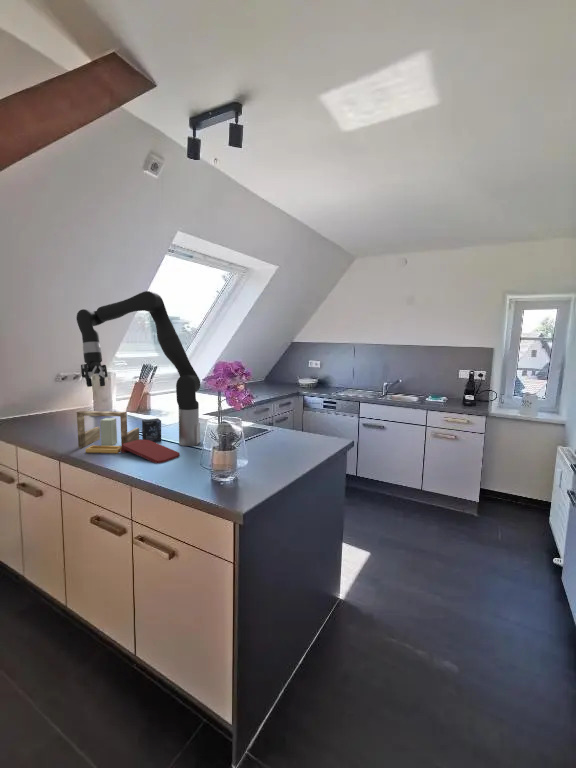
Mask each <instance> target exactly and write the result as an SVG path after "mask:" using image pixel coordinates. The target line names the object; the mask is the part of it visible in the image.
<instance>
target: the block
mask: <svg viewBox="0 0 576 768" xmlns="http://www.w3.org/2000/svg"><path fill="white" fill-rule="evenodd" d="M99 423H100V426H99V427H100V444H101V445H100V446H116V444H118V434H117V433H118V431H117V429H118V427H117V418H115V417H112V418H111V417H105V418H103V419H100V421H99Z"/></svg>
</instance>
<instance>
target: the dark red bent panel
mask: <svg viewBox="0 0 576 768" xmlns="http://www.w3.org/2000/svg"><path fill="white" fill-rule="evenodd" d="M129 452H130V453H132V454H134V455H137V456H139V457H141V458H144V459H146V460H148V461H149V462H152V463H155V464H161V463H166V462H169V461H172V460H174V459H176V458H179V457H180V452H178V451H177V450H174V449H171V448H169V447H167V446H165V445H162V444H160V443H158V442H153V441H150V440H142V439H141V438H139V440H135V441H131V442H128V443H124V444H122V448H121V452H120V453H124V454H126V453H129Z"/></svg>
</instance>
